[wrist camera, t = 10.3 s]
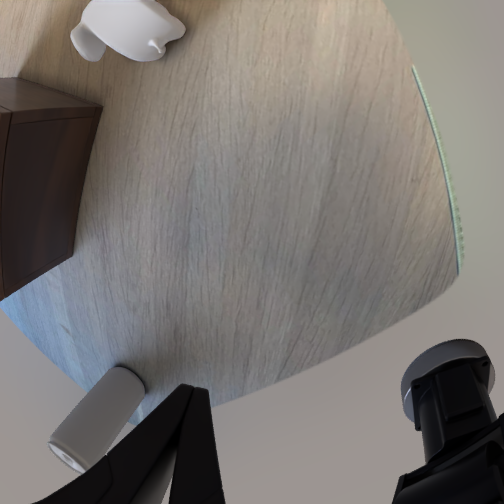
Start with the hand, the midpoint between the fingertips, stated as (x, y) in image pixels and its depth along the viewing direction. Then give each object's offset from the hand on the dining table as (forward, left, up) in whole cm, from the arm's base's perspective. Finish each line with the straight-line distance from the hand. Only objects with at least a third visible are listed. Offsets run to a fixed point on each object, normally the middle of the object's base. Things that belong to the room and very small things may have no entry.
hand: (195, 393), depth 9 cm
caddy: (+14, +17, -13) cm, 26 cm away
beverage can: (-9, +20, -13) cm, 26 cm away
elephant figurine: (+17, +1, -13) cm, 21 cm away
